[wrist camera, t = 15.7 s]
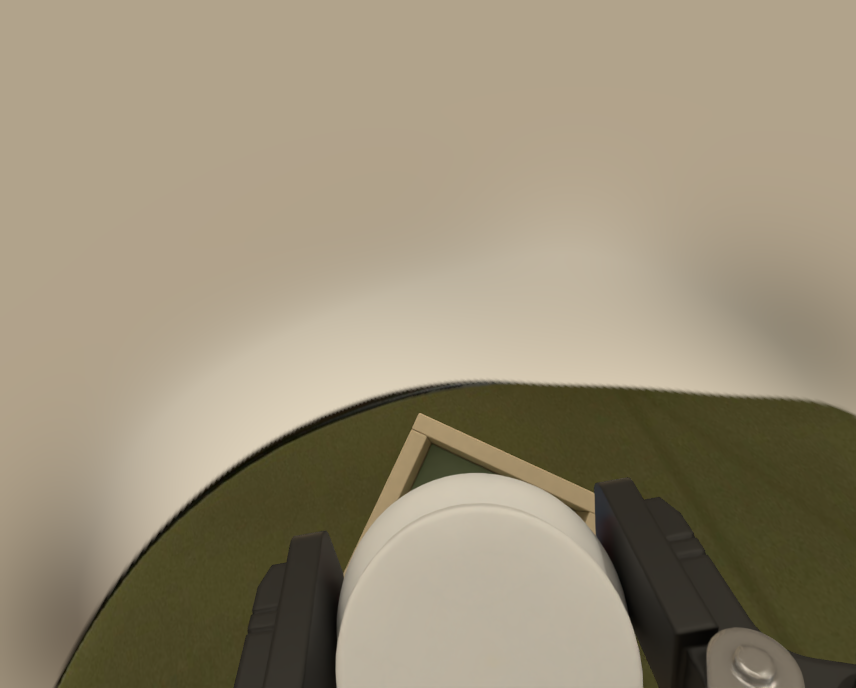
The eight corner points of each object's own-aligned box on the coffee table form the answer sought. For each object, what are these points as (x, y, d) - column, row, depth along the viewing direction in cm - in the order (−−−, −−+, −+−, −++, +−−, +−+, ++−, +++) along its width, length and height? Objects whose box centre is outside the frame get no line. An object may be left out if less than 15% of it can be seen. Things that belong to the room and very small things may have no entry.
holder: (424, 422, 27) (419, 412, 24) (595, 501, 26) (614, 502, 22) (256, 783, 23) (221, 832, 20) (444, 903, 22) (440, 977, 18)
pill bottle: (593, 627, 18) (790, 818, 7) (425, 701, 18) (365, 1015, 7) (517, 457, 20) (583, 404, 9) (363, 521, 19) (239, 547, 9)
